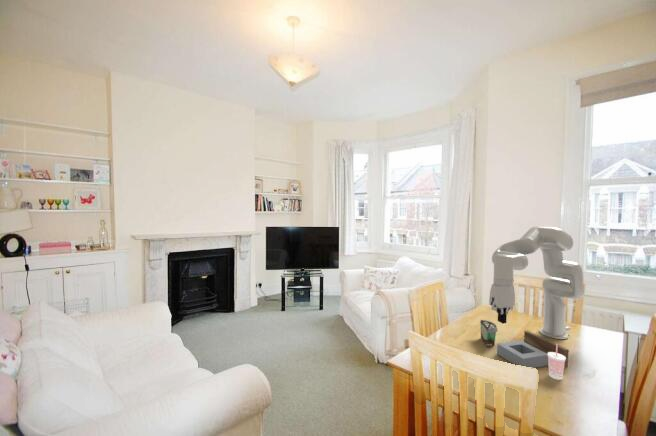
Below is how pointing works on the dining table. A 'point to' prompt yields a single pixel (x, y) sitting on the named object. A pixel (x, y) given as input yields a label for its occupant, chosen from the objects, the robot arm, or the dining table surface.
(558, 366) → the beverage cup
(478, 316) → the dining table surface
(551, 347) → the walnut wall
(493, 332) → the food container
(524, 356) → the socket block
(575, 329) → the dining table surface
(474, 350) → the dining table surface
